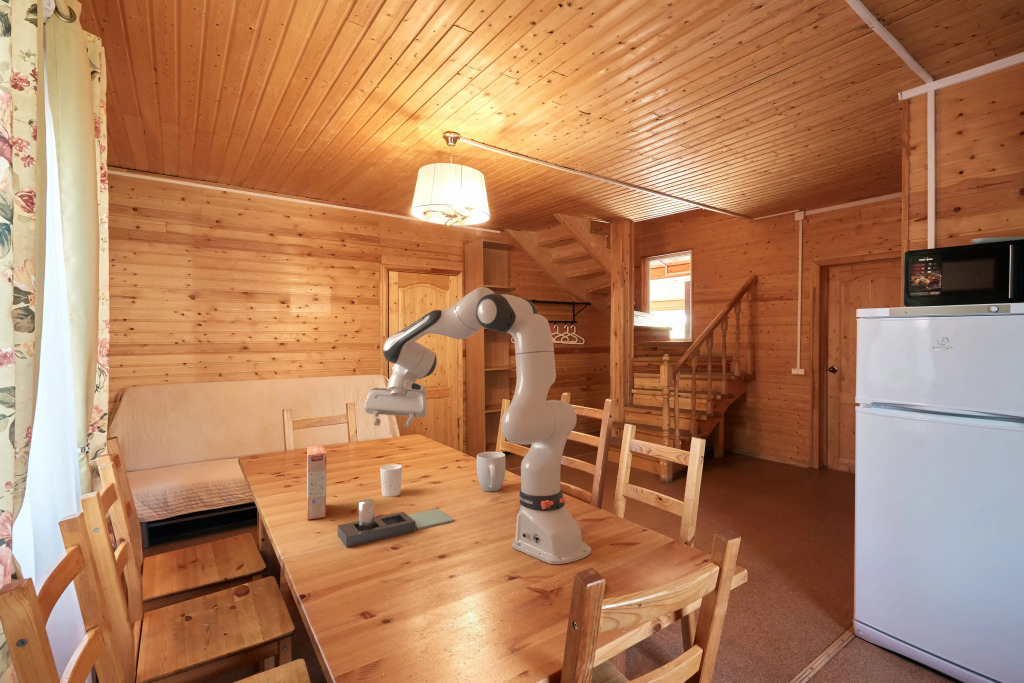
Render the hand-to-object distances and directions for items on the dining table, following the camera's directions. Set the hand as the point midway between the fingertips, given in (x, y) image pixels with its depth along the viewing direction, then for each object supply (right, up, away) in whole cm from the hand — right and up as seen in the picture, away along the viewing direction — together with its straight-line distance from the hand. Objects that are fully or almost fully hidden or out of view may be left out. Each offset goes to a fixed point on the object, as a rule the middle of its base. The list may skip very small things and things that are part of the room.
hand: (391, 425), depth 157 cm
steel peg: (-3, -30, -15) cm, 33 cm away
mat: (+12, -29, -2) cm, 32 cm away
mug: (+31, -29, +28) cm, 51 cm away
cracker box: (-26, -30, +5) cm, 40 cm away
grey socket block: (-1, -29, -13) cm, 32 cm away
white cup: (-6, -30, +24) cm, 39 cm away
